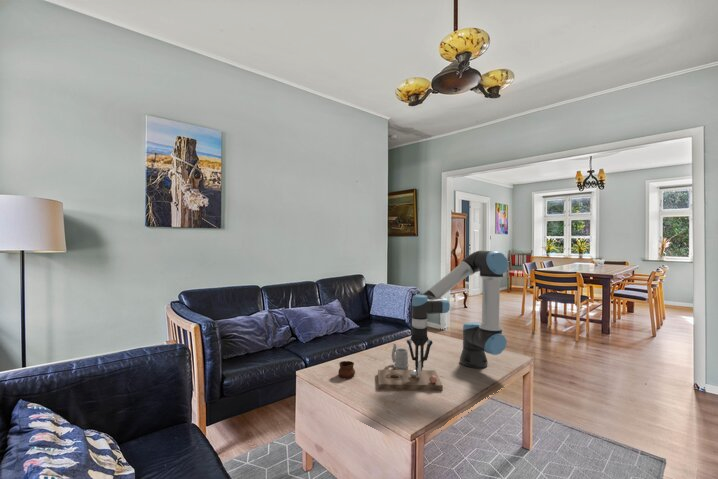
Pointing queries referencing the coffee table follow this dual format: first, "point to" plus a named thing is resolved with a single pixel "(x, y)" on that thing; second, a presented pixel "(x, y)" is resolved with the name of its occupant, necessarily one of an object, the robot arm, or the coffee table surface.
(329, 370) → the coffee table surface
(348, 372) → the ceramic pot
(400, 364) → the mug
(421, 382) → the deck
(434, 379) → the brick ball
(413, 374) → the steel ball
